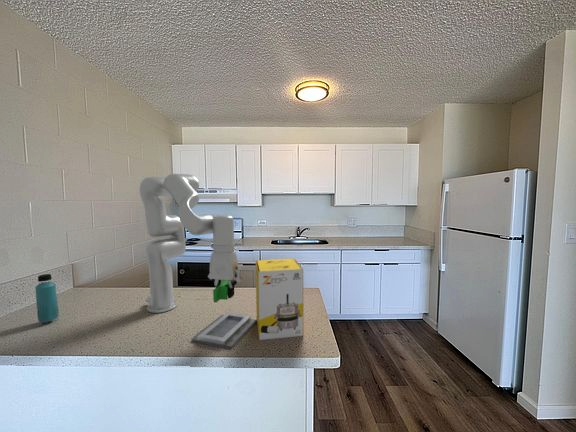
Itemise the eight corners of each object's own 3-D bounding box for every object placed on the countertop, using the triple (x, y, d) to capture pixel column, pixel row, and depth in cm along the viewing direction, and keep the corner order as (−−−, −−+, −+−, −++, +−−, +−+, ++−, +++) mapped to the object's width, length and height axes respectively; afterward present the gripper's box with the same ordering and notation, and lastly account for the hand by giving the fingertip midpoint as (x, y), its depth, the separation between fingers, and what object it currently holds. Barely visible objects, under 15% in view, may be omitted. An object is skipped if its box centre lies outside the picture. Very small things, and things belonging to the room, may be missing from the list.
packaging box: (294, 316, 113) (294, 258, 112) (303, 335, 98) (303, 269, 96) (256, 319, 111) (255, 260, 109) (259, 340, 95) (258, 271, 93)
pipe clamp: (223, 303, 94) (222, 290, 94) (213, 302, 95) (213, 290, 95) (235, 291, 105) (235, 280, 105) (226, 291, 106) (226, 280, 105)
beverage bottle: (62, 319, 112) (59, 273, 110) (44, 327, 105) (40, 277, 104) (52, 317, 114) (49, 271, 112) (33, 324, 108) (29, 276, 106)
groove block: (191, 341, 94) (191, 335, 94) (222, 316, 113) (222, 311, 113) (231, 349, 89) (230, 342, 89) (256, 322, 108) (256, 316, 108)
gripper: (198, 249, 98) (200, 297, 99) (239, 251, 93) (240, 302, 94) (210, 245, 105) (212, 290, 106) (248, 247, 100) (249, 295, 101)
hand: (225, 295), depth 100 cm, fingers closed on pipe clamp, 4 cm apart
